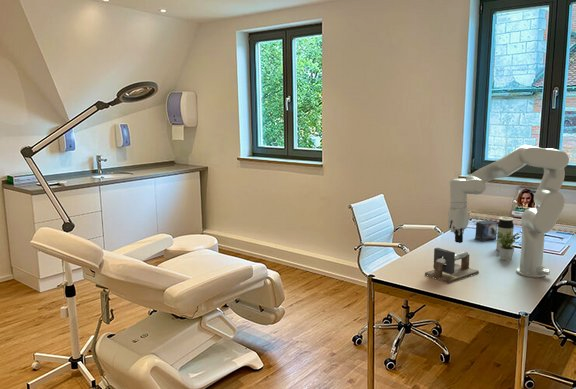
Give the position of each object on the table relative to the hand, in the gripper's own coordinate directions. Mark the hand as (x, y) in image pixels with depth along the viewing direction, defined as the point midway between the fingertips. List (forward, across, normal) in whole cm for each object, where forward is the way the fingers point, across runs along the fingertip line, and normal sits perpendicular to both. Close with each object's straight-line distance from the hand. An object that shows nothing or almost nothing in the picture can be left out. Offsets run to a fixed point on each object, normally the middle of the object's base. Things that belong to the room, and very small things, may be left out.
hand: (458, 242), depth 233 cm
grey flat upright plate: (+12, +10, -1) cm, 16 cm away
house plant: (+17, -36, +3) cm, 40 cm away
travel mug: (+17, -50, -8) cm, 53 cm away
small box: (+17, -61, -27) cm, 69 cm away
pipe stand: (+15, +4, -1) cm, 16 cm away
